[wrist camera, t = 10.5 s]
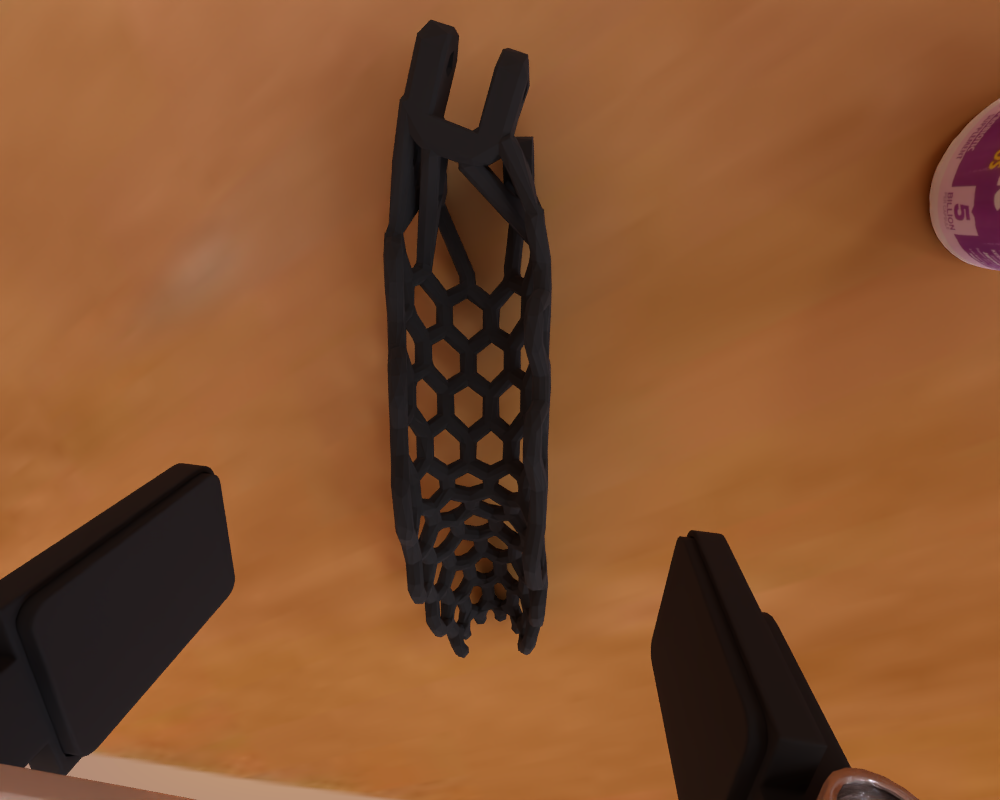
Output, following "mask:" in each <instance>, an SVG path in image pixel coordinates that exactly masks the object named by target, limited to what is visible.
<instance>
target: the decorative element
mask: <svg viewBox="0 0 1000 800" xmlns="http://www.w3.org/2000/svg"><path fill="white" fill-rule="evenodd" d="M458 42H459V35H458V33H457V31H456V30H455V28H454V27H452V26H449V25H446V24H443V23H440V22H437V21H433V20H430V21H429V22H428V23H427V24H426V25H425V26H424V27H423V28H422V29H421V30H420V31H419V32H418V33H417V37H416V42H415V46H414V51H413V56H412V60H411V65H410V70H409V74H408V79H407V84H406V88H405V93H404V95H403V96H402V97H401V99H400V102H399V110H398V118H397V127H396V135H395V143H394V151H393V160H392V177H391V196H390V215H389V225H388V228H387V231H386V233H385V236H384V254H383V256H384V279H385V295H386V307H387V326H388V393H389V418H390V448H391V490H392V499H393V509H394V519H395V529H396V533H397V536H398V538H399V540H400V542H401V546H402V550H403V554H404V558H405V562H406V571H407V584H408V591H409V594H410V596H411V598H412V600H413V601H414V603H415V604H423V603H424V602H425V611H426V622H427V624H428V626H429V628H430V629H431V631H432V632H433V633H434V635H435V636H437V637H442V636H444V635H445V634H447V636H448V639H449V641H450V644H451V646H452V648H453V650H454V652H455V653H456V655H458V656H459V657H462V658H465V657H466V655H467V654H468V653H469V649H468V646H467V645H466V644H465V643H464V640H463V639H465V640H467V639H468V638H469V637H470V636H471V631H470V622H471V620H472V619H473V618H474V619H475V621H476V623H477V624H484V623H485V621H486V619H487V617H486V614H487V612H488V610H491V609H492V611H493V612H494V614H495V619H497V620H498V621H503V620H505V619H506V614H508V615H510V619H511V623H512V628H511V629H512V630H513V631H514V632H515V634H519V640H518V651H520V652H521V653H523V654H525V655H528V654H530V653H531V651H532V650H533V648H534V647H535V645H536V641H537V637H538V633H539V630H540V627H541V626H542V625H543V622H544V616H545V607H546V598H547V588H548V577H547V561H546V552H545V538H544V535H545V529H546V510H547V492H548V430H549V408H550V393H551V364H550V360H549V340H550V318H551V290H552V283H551V256H550V250H549V244H548V238H547V232H546V226H545V217H544V209H542V207H541V205H540V202H539V200H538V197H537V195H536V189H535V184H534V143H533V137H515V136H514V134H515V130H516V126H517V122H518V119H519V116H520V113H521V110H522V107H523V104H524V101H525V98H526V95H527V92H528V89H529V86H530V85H529V59H528V54H525V53H522V52H519V51H516V50H513V49H510V48H506V49H503V50H502V53H501V55H500V57H499V59H498V61H497V64H496V66H495V69H494V72H493V76H492V80H491V83H490V87H489V91H488V94H487V98H486V102H485V105H484V109H483V113H482V116H481V120H480V123H479V127H478V128H476V129H475V130H473V131H472V130H470V129H467V128H465V127H462V126H460V125H457V124H454V123H452V122H449V121H447V120H445V118H444V113H445V109H446V105H447V101H448V97H449V93H450V88H451V84H452V80H453V76H454V72H455V68H456V63H457V55H458ZM448 159H449V160H452V161H455V162H458V163H459V170H460V171H461V172H462V173H463V174H464V175H465V177H466V178H467V179H468V180H469V181H470V182H471V183H472V184H473V185H474V186H475V187H476V189H477V190H478V191H479V192H480V193H481V194H482V195H483V196H484V197H485V198H486V199H487V200H488V202H489V203H490V204H491V205H492V206H493V207H494V208H495V209H496V210H497V211H498V212H499V214H500V215H501V216H502V217H503V218H504V219H505V220H506V221H507V222H508V223H509V229H508V238H507V246H506V255H505V264H504V278H503V281H502V282H501V283H500V284H499V285H498V286H497V288H496V289H495V290H494V291H493V292H492V293H491V294H490V295H489V294H488V293H487V292H485V291H484V290H483V289H482V288H480V287H479V286H478V285H476V280H475V272H474V270H473V268H472V265H471V263H470V261H469V258H468V256H467V254H466V251H465V249H464V247H463V244H462V242H461V240H460V237H459V235H458V233H457V230H456V228H455V226H454V223H453V221H452V219H451V216H450V214H449V212H448V209H447V207H446V205H445V200H446V195H447V173H446V170H447V163H448ZM499 159H502V161H503V178H504V184H503V183H502V181H501V180H500V179H499V178H498V177H497V176H496V174H495V173H494V172H493V171H492V170H491V169H490V168H489V165H490V164H492V163H494V162H496V161H497V160H499ZM418 210H419V216H418V238H417V260H416V264H415V265H414V267H413V268H411V265H410V262H409V259H408V256H407V253H406V248H405V242H404V236H403V233H404V231H405V230H406V228H407V227H408V225H409V224H410V222H411V221H412V219H413V218H414V216H415V215H416V213H417V212H418ZM438 227H439V230H440V232H441V234H442V237H443V239H444V241H445V244H446V246H447V249H448V251H449V253H450V256H451V258H452V260H453V263H454V265H455V268H456V270H457V272H458V275H459V279H460V284H458V285H456V286H455V287H453V288H451V289H449V290H447V291H446V290H445V288H444V287H443V286H442V284H441V283H440V282H439V280H438V279H437V278H436V277H435V275H434V274H433V273H432V266H433V259H434V252H435V245H436V239H437V232H438ZM523 240H524V241H525V242H526V243H527V244H528V245H529V248H530V259H529V264H528V267H527V270H526V273H525V276H524V278H523V277H521V274H520V267H521V258H522V249H523ZM417 285H420V286H421V287H422V288H423V289H424V291H425V292H426V293H427V294H428V295H429V297H430V298H431V299H432V300H433V302H434V303H435V305H436V324H435V325H433V326H431V327H429V328H427V329H426V327H425V326H424V324H423V322H422V321H421V319H420V318H419V316H418V314H417V312H416V309H415V306H414V289H415V286H417ZM513 293H516V294H518V295H519V296H521V318H520V320H519V321H518V323H517V324H516V326H515V327H514V329H513V331H512V332H511V334H508V333H506V332H505V331H503V330H502V329H500V328H499V317H500V308H501V307H502V306H503V305H504V304H505V302H506V301H507V300H508V299H509V298H510V297H511V296H512V294H513ZM465 299H468V300H470V301H471V302H472V303H474V304H475V305H477V306H478V307H479V308H481V309H482V310H483V329H482V330H480V331H479V332H478V333H477V334H475V335H474V336H473V337H472V338H470V339H469V340H468V339H467V338H466V337H465V336H464V335H463V334H462V333H461V332H460V331H459V330H458V329H457V328H456V327H455V326H454V325H453V306H455V305H456V304H458V303H460V302H462V301H463V300H465ZM406 329H407V331H408V332H409V334H410V335H411V337H412V338H413V341H414V343H415V363H414V364H413V365H412V364H411V361H410V358H409V355H408V352H407V349H406ZM442 339H444V340H445V341H446V342H447V343H448V344H450V345H451V346H452V347H453V348H454V349H455V350H456V351H457V352H458V353H459V354H460V372H459V373H458V374H456V375H454V376H453V377H451V378H449V379H448V380H446V378H445V377H444V376H443V375H442V374H441V373H440V372H439V371H438V370H437V369H436V367H435V366H434V364H433V361H432V345H433V344H435V343H437V342H438V341H440V340H442ZM491 343H493V344H494V345H496V346H497V347H499V348H500V349H502V350H503V351H504V370H503V371H502V372H501V373H500V374H499V375H498V376H497V377H496V378H495V379H494V380H493V381H492V382H491V383H490V382H489V381H487V380H486V379H485V378H484V377H482V376H481V375H480V374H478V373H477V354H478V353H479V352H480V351H482V350H483V349H484V348H485V347H487V346H488V345H489V344H491ZM523 345H525V349H526V353H527V357H528V360H529V365H528V368H527V371H526V373H525V372H524V371H522V370H521V348H522V347H523ZM421 379H423V380H424V381H425V382H426V383H427V384H428V385H429V386H430V387H431V388H432V389H433V390H434V391H435V392H436V393H437V415H435V416H434V417H433V418H432V419H430V420H429V421H428V422H427V421H426V420H425V418H424V417H423V415H422V414H421V412H420V411H419V409H418V408H417V404H416V386H417V382H418V381H420V380H421ZM512 385H514V386H516V387H517V388H519V389H520V413H519V414H518V415H517V417H516V418H515V419H514V421H513V422H512V424H511V425H508V424H507V423H506V422H505V421H504V420H503V419H502V418H500V417H499V397H500V396H501V395H502V394H503V393H504V392H505V391H506V390H508V389H509V388H510V387H511V386H512ZM467 386H468V387H470V388H471V389H472V390H474V391H475V392H476V393H478V394H479V395H480V396H482V397H483V417H482V418H480V419H479V420H478V421H477V422H475V423H474V424H473V425H472V426H470V427H469V428H468V427H467V426H466V425H465V424H464V423H463V422H462V421H461V420H460V419H459V418H458V417H457V416H455V414H454V394H456V393H457V392H459V391H461V390H462V389H464V388H466V387H467ZM408 426H410V428H411V429H412V431H413V432H414V434H415V435H416V440H417V458H416V460H415V461H414V462H412V460H411V458H410V456H409V445H408ZM444 429H446V430H447V431H448V432H449V433H450V434H451V435H452V436H454V437H455V438H456V439H457V440H458V441H459V442H460V459H459V460H457V461H455V462H453V463H451V464H449V465H446V464H445V463H443V462H442V461H440V460H439V459H437V458H436V457H434V437H435V436H436V435H438V434H439V433H440V432H442V431H443V430H444ZM490 431H492V432H493V433H494V434H495V435H496V436H498V437H499V438H500V439H501V440H502V441H503V460H501V461H499V462H497V463H494V464H492V465H488V464H486V463H484V462H482V461H480V460H478V459H476V449H477V442H478V441H479V440H480V439H482V438H483V437H484V436H485V435H487V434H488V433H489V432H490ZM522 438H523V463H522V462H521V461H519V454H520V440H521V439H522ZM426 473H429V474H430V475H432V476H433V477H435V478H436V479H438V480H439V485H440V488H439V489H438V490H437V491H436V492H435V493H434V494H433V495H432V496H431V497H430V498H429V499H423V498H422V496H421V487H420V480H421V479H422V477H423V476H424V475H425V474H426ZM467 473H470V474H471V475H473V476H475V477H477V478H479V479H481V480H483V483H482V484H479V485H476V486H472V487H466V486H461V485H457V484H455V479H457V478H459V477H461V476H463V475H465V474H467ZM508 474H510V475H511V476H513V477H514V478H515V479H516V480H517V483H518V492H514V493H512V492H510V491H509V490H507V489H506V488H504V487H502V486H501V485H499V484H498V483H499V479H501V478H502V477H504V476H506V475H508ZM488 498H490V499H492V500H493V501H495V502H496V503H498V504H500V505H501V506H498V505H493V504H488V503H486V502H484V501H482V500H485V499H488ZM450 500H453V501H457V502H462V503H461V504H460V506H459V507H457V508H455V509H453V510H451V511H449V512H443V513H440V510H441V509H442V508H443V507H444V506H445V505H446V504H447V503H448V502H449V501H450ZM421 515H422V516H424V518H425V524H424V527H423V530H422V532H421V535H420V538H419V539H418V532H419V525H420V518H421ZM472 515H476V516H479V517H482V518H485V519H488V523H486V524H484V525H481V526H471V525H466V524H464V521H465V520H467V519H468V518H469V517H471V516H472ZM503 521H509V522H510V523H511V524H512V526H513V527H514V528H515V530H516V531H517V532H518V533H516V532H515V531H513V530H511V529H510V528H509V527H508V526H507V525H506V524H505V523H503ZM447 527H450V529H451V530H450V532H449V534H448V535H447V537H446V539H445V540H444V541H443V542H442V543H441V544H440V545H439V546H438V547H436V548H434V547H433V546H434V543H435V540H436V538H437V535H438V532H439V531H440V530H441V529H443V528H447ZM493 536H497V537H498V538H499V539H501V540H502V541H503V542H504V543H505V544H506V545H507V546H508V549H505V550H502V549H498V548H496V547H494V546H493V545H492V544H490V543H489V542H488V538H490V537H493ZM462 539H463V540H469V541H474V546H473V547H472V548H471V549H470V550H469V551H468V552H467V553H465V554H463V555H461V556H455V553H454V551H455V550H456V548H457V547H458V545H459V544H460V542H461V541H462ZM522 553H523V554H522ZM481 558H488V559H489V560H491V561H492V562H493V569H492V570H491V571H490V572H489V573H481V572H478V571H476V567H475V564H476V563H477V562H478V561H479V560H480V559H481ZM440 562H442V567H441V571H440V574H439V578H438V581H437V583H436V584H435V585H434V584H433V583H434V578H435V573H436V568H437V564H438V563H440ZM507 563H511V564H512V566H513V567H514V569H515V571H516V573H517V575H518V577H519V581H517V580H515V579H514V578H513V577H512V576H511V574H510V573H509V572H508V571H507ZM459 570H463V574H464V577H463V579H462V581H461V583H460V585H459V587H458V588H457V589H456V590H455V591H452V589H451V584H452V581H453V578H454V575H455V572H456V571H459ZM496 583H501V584H502V585H503V586H504V588H505V589H506V599H505V600H501V599H499V598H498V597H497V596H496V594H495V590H494V585H495V584H496ZM474 586H479V587H481V588H482V596H481V598H480V600H479V602H478V603H476V604H472V603H471V600H470V597H469V595H470V593H471V591H472V588H473V587H474ZM519 598H520V600H521V605H522V610H523V613H522V611H521V609H520V606H519ZM440 600H441V617H440V604H439V601H440ZM457 605H458V607H459V609H460V611H459V619H458V621H457V623H456V622H455V620H454V613H455V609H456V606H457Z"/></svg>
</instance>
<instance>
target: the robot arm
mask: <svg viewBox="0 0 1000 800" xmlns="http://www.w3.org/2000/svg"><path fill="white" fill-rule="evenodd" d="M234 582H235V575H234V568H233V562H232V555H231V549H230V542H229V536H228V529H227V523H226V516H225V510H224V504H223V497H222V491H221V484H220V480H219V478H218V476H216V475H214V473H213V471H212V470H211V468H209V467H207V466H200V465H192V464H184V463H178V464H176V465H174V466H172V467H171V468H169V469H168V470H166V471H165V472H163V473H162V474H160V475H159V476H157V477H156V478H154V479H153V480H151V481H150V482H148V483H147V484H145V485H143V486H142V487H140V488H139V489H137V490H136V491H134V492H133V493H131V494H130V495H128V496H127V497H125V498H124V499H122V500H121V501H119V502H118V503H116V504H115V505H113V506H112V507H110V508H109V509H107V510H106V511H104V512H103V513H101V514H99V515H98V516H96V517H95V518H93V519H92V520H90V521H89V522H87V523H86V524H84V525H83V526H81V527H80V528H78V529H77V530H75V531H74V532H72V533H71V534H69V535H68V536H66V537H65V538H63V539H62V540H60V541H59V542H57V543H55V544H54V545H52V546H51V547H49V548H48V549H46V550H45V551H43V552H42V553H40V554H39V555H37V556H36V557H34V558H33V559H31V560H30V561H28V562H27V563H25V564H24V565H22V566H21V567H19V568H18V569H16V570H15V571H13V572H11V573H10V574H8V575H7V576H5V577H4V578H2V579H1V580H0V800H194V799H189V798H184V797H179V796H173V795H168V794H163V793H158V792H152V791H147V790H141V789H136V788H131V787H125V786H120V785H114V784H109V783H103V782H97V781H92V780H87V779H81V778H77V777H71V776H66V775H67V774H68V772H69V771H70V770H71V769H72V768H73V767H74V766H75V764H76V763H77V762H78V761H79V760H80V759H81V758H82V757H84V756H87V755H89V754H90V753H92V752H93V751H95V750H96V749H97V748H98V747H99V746H100V744H101V743H102V742H103V741H104V740H105V739H106V737H107V736H108V735H109V734H110V733H111V732H112V730H113V729H114V728H115V727H116V726H117V725H118V724H119V722H120V721H121V720H122V719H123V718H124V717H125V715H126V714H127V713H128V712H129V711H130V710H131V708H132V707H133V706H134V705H135V704H136V703H137V702H138V700H139V699H140V698H141V697H142V696H143V695H144V693H145V692H146V691H147V690H148V689H149V688H150V686H151V685H152V684H153V683H154V682H155V681H156V680H157V678H158V677H159V676H160V675H161V674H162V673H163V671H164V670H165V669H166V668H167V667H168V666H169V664H170V663H171V662H172V661H173V660H174V659H175V658H176V656H177V655H178V654H179V653H180V652H181V651H182V649H183V648H184V647H185V646H186V645H187V644H188V643H189V641H190V640H191V639H192V638H193V637H194V636H195V634H196V633H197V632H198V631H199V630H200V629H201V627H202V626H203V625H204V624H205V623H206V622H207V621H208V619H209V618H210V617H211V616H212V615H213V614H214V612H215V611H216V610H217V609H218V608H219V607H220V605H221V604H222V603H223V602H224V601H225V600H226V599H227V597H228V596H229V595H230V593H231V591H232V589H233V586H234ZM651 660H652V666H653V671H654V676H655V681H656V686H657V692H658V697H659V702H660V707H661V712H662V717H663V722H664V727H665V733H666V738H667V743H668V748H669V753H670V758H671V763H672V768H673V773H674V779H675V784H676V789H677V794H678V799H679V800H919V799H917V798H916V797H915V796H914V795H912V794H911V793H910V792H909V791H907V790H906V789H905V788H903V787H901V786H900V785H898V784H896V783H894V782H893V781H891V780H889V779H887V778H886V777H884V776H881V775H879V774H876V773H873V772H870V771H867V770H865V769H857V768H851V767H850V765H849V763H848V761H847V759H846V757H845V755H844V753H843V751H842V749H841V747H840V745H839V743H838V741H837V739H836V737H835V736H834V734H833V732H832V730H831V728H830V726H829V724H828V722H827V720H826V718H825V716H824V714H823V712H822V710H821V708H820V706H819V704H818V703H817V701H816V699H815V697H814V695H813V693H812V691H811V689H810V687H809V685H808V683H807V681H806V679H805V677H804V675H803V673H802V671H801V670H800V668H799V666H798V664H797V662H796V660H795V658H794V656H793V654H792V652H791V650H790V648H789V646H788V644H787V642H786V640H785V638H784V636H783V635H782V633H781V631H780V629H779V627H778V625H777V623H776V622H775V620H774V619H773V617H772V616H771V615H769V614H768V613H765V612H761V610H760V608H759V606H758V604H757V602H756V600H755V598H754V596H753V594H752V592H751V590H750V588H749V586H748V584H747V582H746V579H745V577H744V575H743V573H742V571H741V569H740V567H739V565H738V563H737V561H736V559H735V557H734V555H733V553H732V551H731V549H730V547H729V545H728V543H727V541H726V539H725V537H724V536H723V535H722V534H717V533H710V532H702V531H694V530H691V531H689V533H688V535H687V537H681V536H680V537H679V538H678V539H677V542H676V545H675V549H674V553H673V557H672V561H671V565H670V569H669V573H668V577H667V581H666V585H665V589H664V593H663V597H662V601H661V605H660V609H659V613H658V617H657V621H656V625H655V629H654V633H653V637H652V642H651ZM28 763H29V765H30V767H31V769H28V768H24V767H25V766H26V765H27V764H28Z"/></svg>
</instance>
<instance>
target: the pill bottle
mask: <svg viewBox="0 0 1000 800" xmlns="http://www.w3.org/2000/svg"><path fill="white" fill-rule="evenodd" d="M929 201H930V216H931V222H932V226H933V228H934V231H935V233H936V235H937V237H938V238H939V240H940V241H941V243H942V244H943V245H944V247H945V248H946V249H947V250H949V251H950V252H951V253H952V254H953V255H955V256H956V257H957V258H959V259H960V260H962V261H964V262H966V263H969V264H971V265H974V266H978V267H982V268H987V269H992V270H999V271H1000V98H999V99H998V100H996V101H994V102H993V103H992V104H990V105H989V106H988V107H986V108H985V109H984V110H983V111H981V112H980V113H979V114H978V115H977V116H976V117H975V118H974V119H972V120H971V121H970V122H969V123H968V124H967V125H966V126H965V128H964V129H963V130H962V131H961V133H960V134H959V135H958V136H957V137H956V138H955V139H954V140H953V141H952V143H951V144H950V146H949V147H948V149H947V151H946V152H945V154H944V155H943V157H942V159H941V160H940V162H939V164H938V166H937V168H936V171H935V174H934V177H933V180H932V184H931V190H930V195H929Z"/></svg>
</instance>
